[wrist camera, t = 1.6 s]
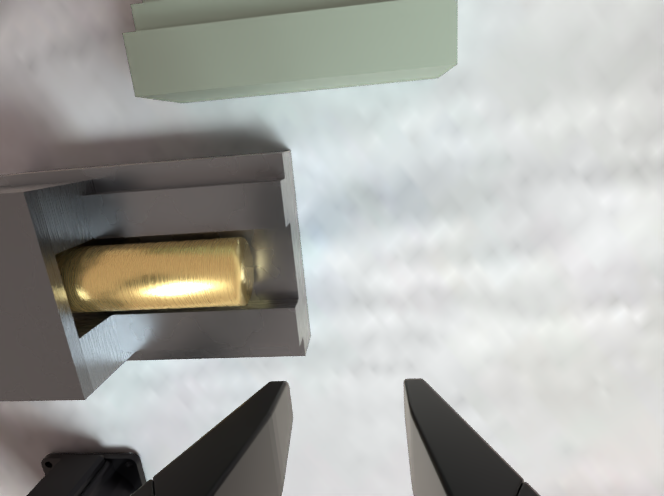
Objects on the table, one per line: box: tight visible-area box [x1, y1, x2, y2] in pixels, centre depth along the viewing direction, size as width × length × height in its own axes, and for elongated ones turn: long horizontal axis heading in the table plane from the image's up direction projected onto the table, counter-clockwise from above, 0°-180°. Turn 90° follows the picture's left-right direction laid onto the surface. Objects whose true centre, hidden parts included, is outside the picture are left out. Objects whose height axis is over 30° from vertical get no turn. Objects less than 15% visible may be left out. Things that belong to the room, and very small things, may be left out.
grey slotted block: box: [0, 151, 311, 401], centre depth 19 cm, size 10×14×6 cm
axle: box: [55, 237, 254, 313], centre depth 18 cm, size 3×14×3 cm, turn 94°
